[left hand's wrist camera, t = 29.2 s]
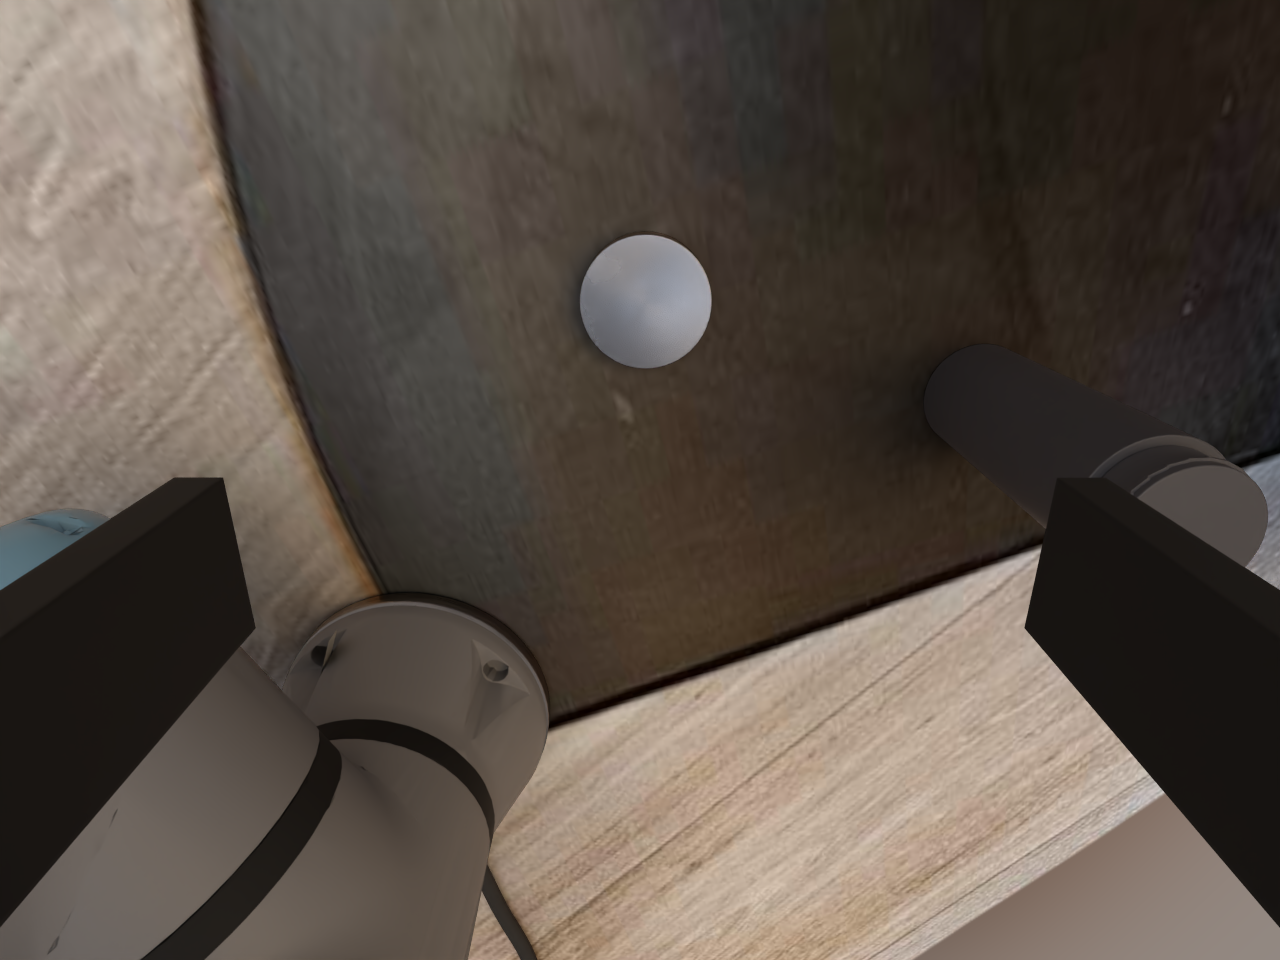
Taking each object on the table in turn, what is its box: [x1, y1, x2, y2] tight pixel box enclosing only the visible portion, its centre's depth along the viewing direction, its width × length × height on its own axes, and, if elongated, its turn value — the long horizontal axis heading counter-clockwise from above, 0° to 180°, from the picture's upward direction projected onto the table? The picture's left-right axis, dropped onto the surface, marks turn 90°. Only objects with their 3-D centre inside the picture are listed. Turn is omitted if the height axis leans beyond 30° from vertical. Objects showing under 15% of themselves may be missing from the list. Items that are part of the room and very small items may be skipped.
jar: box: [924, 344, 1268, 567], centre depth 31 cm, size 5×5×16 cm
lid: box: [580, 231, 712, 369], centre depth 36 cm, size 6×6×2 cm
